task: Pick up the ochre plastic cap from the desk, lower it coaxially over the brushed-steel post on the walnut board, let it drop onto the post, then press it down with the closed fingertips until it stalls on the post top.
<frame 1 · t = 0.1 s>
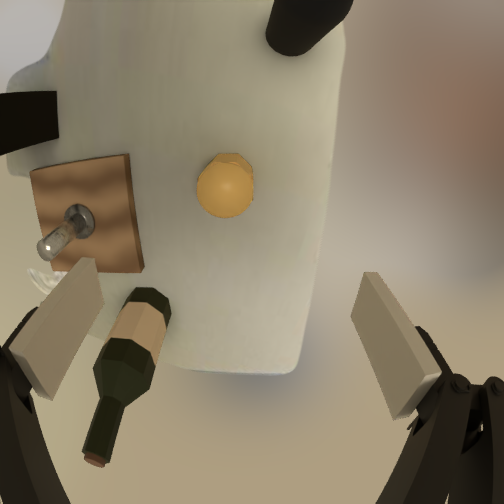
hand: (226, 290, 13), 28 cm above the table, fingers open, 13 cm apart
ochre cap: (228, 176, 38), on the table
walnut board: (85, 216, 40), on the table
black pillar candle: (41, 119, 32), on the table
steel post: (80, 221, 38), resting on walnut board
labelled green bottle: (149, 305, 48), on the table
wine bottle: (289, 35, 30), on the table
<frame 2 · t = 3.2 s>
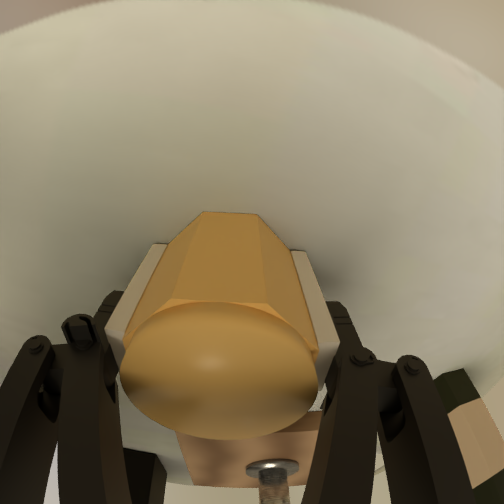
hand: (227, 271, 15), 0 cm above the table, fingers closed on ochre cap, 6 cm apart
ochre cap: (227, 269, 15), on the table, touching gripper
walnut board: (270, 452, 26), on the table
black pillar candle: (134, 457, 28), on the table
steel post: (272, 467, 24), resting on walnut board
labelled green bottle: (435, 393, 23), on the table
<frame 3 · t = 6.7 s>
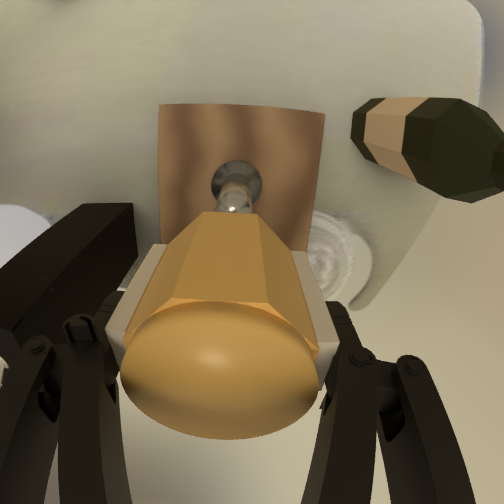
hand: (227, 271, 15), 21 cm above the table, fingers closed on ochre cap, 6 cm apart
ochre cap: (227, 269, 15), point 21 cm above the table, touching gripper
walnut board: (237, 180, 34), on the table
black pillar candle: (110, 229, 36), on the table
steel post: (236, 184, 32), resting on walnut board
labelled green bottle: (379, 130, 31), on the table
when the fingers open (6 cm above the table, at t = 10.4 s): ochre cap drops 1 cm, resting on steel post.
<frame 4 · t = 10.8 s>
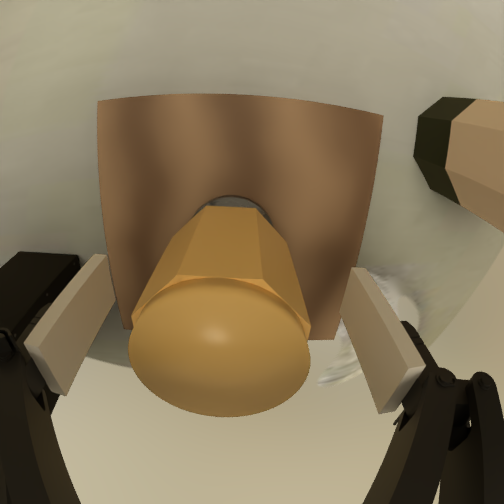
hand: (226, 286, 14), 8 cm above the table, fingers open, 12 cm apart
ochre cap: (228, 260, 16), point 5 cm above the table, touching steel post
walnut board: (232, 225, 21), on the table
black pillar candle: (56, 286, 23), on the table
steel post: (231, 236, 19), resting on walnut board
labelled green bottle: (450, 146, 18), on the table
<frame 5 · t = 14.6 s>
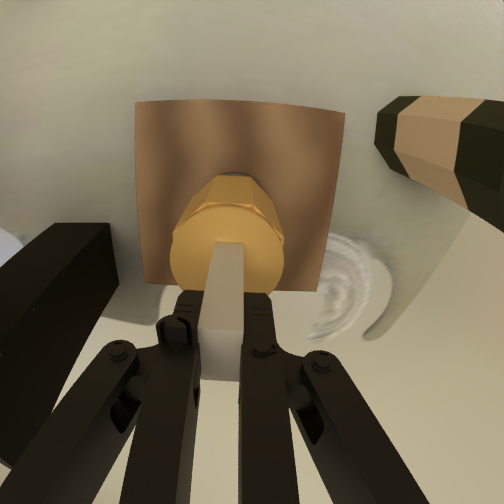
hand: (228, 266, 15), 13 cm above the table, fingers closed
ochre cap: (231, 214, 23), point 5 cm above the table, touching gripper, steel post
walnut board: (234, 196, 27), on the table
black pillar candle: (86, 252, 30), on the table
labelled green bottle: (407, 135, 25), on the table
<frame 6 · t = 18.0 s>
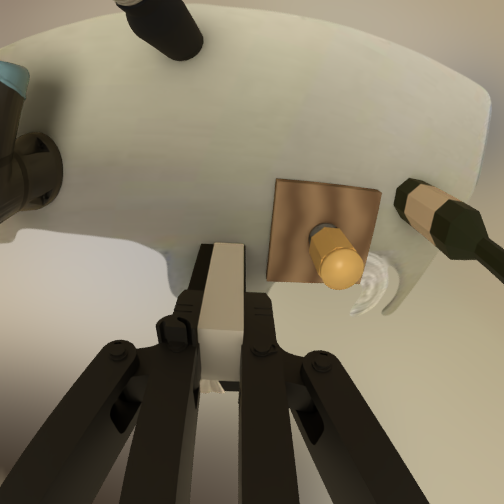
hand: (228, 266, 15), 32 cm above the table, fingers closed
ochre cap: (328, 245, 46), point 5 cm above the table, touching steel post
walnut board: (321, 233, 50), on the table
black pillar candle: (222, 263, 52), on the table
steel post: (324, 237, 48), resting on walnut board
labelled green bottle: (411, 198, 47), on the table
wine bottle: (183, 43, 35), on the table
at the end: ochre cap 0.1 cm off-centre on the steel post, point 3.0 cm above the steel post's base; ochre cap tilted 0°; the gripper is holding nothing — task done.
